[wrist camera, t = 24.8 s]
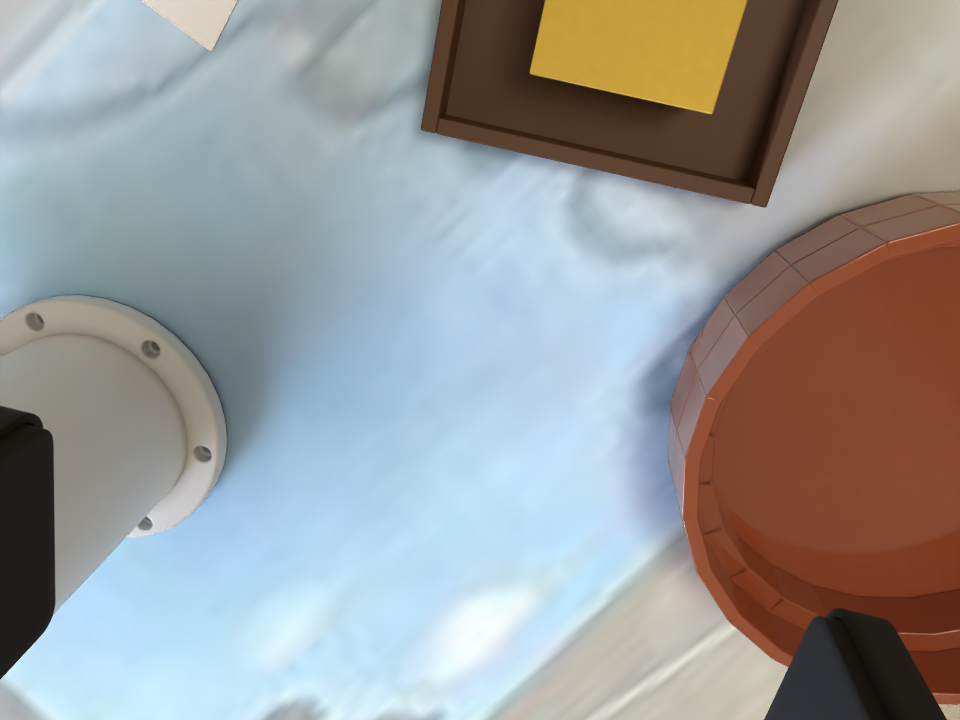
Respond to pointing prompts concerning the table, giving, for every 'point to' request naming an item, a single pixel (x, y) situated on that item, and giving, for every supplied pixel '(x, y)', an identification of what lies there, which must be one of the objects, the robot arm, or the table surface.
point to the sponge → (640, 47)
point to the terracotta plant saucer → (833, 435)
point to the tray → (628, 100)
